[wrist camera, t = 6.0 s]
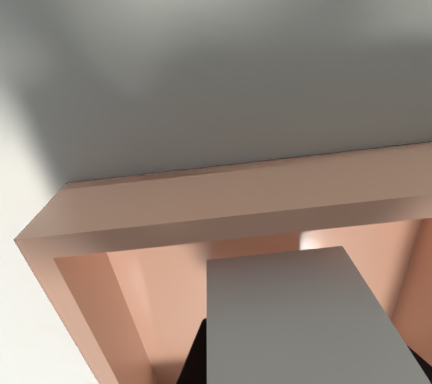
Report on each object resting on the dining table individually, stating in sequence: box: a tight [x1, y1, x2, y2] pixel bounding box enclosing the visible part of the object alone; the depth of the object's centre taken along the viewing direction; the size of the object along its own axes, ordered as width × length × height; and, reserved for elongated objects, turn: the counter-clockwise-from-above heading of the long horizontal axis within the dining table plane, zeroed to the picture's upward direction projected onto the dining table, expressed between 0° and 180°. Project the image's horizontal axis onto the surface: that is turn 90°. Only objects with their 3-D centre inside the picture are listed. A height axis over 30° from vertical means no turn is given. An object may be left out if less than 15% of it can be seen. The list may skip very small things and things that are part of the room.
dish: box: [14, 142, 432, 384], centre depth 11 cm, size 13×13×3 cm
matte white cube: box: [206, 246, 431, 384], centre depth 7 cm, size 4×4×4 cm
